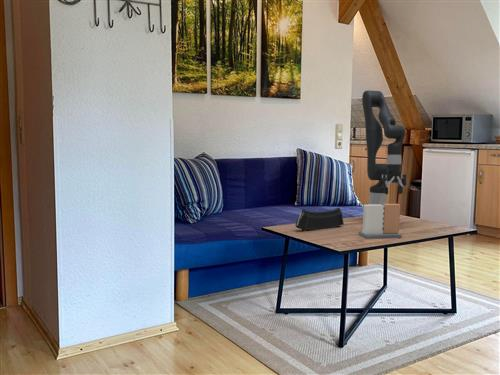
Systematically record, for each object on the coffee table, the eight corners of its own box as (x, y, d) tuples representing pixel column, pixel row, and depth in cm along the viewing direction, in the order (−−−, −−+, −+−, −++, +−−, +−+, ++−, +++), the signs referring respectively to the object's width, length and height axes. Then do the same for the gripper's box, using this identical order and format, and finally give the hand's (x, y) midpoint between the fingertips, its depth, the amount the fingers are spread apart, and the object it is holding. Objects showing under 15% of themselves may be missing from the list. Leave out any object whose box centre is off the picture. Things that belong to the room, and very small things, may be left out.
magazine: (343, 209, 272) (302, 196, 256) (347, 210, 270) (306, 197, 253) (335, 239, 272) (293, 228, 255) (339, 241, 269) (297, 230, 252)
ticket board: (358, 234, 251) (359, 203, 249) (392, 233, 254) (393, 202, 252) (366, 238, 241) (368, 206, 239) (401, 237, 244) (403, 205, 242)
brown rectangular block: (380, 231, 249) (382, 204, 247) (395, 231, 250) (397, 203, 249) (383, 233, 246) (385, 204, 244) (398, 232, 248) (400, 204, 246)
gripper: (401, 163, 270) (400, 193, 271) (378, 163, 266) (377, 193, 267) (409, 163, 263) (408, 194, 264) (386, 163, 259) (385, 195, 260)
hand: (393, 194), depth 266 cm, fingers open, 8 cm apart
